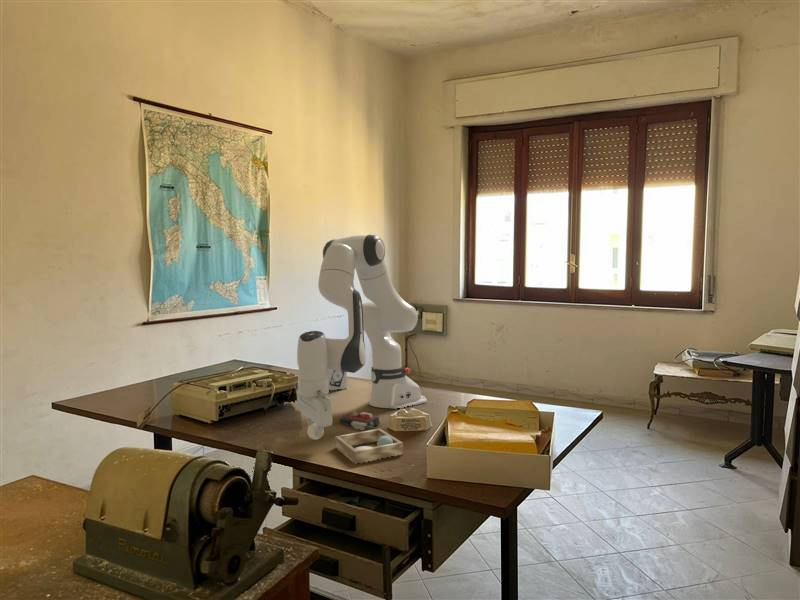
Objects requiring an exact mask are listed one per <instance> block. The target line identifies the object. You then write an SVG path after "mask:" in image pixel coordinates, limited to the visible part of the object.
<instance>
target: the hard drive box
mask: <svg viewBox="0 0 800 600" xmlns="http://www.w3.org/2000/svg"><path fill="white" fill-rule="evenodd" d="M327 373H328V377H329V390H330V391H338V390H337V389H341V390H346V389H345V388H347V386H348V385H347V383H348V380H347V377H348V375H347V373H348V372H344V371H334V370H327Z"/></svg>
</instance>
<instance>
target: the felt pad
mask: <svg viewBox="0 0 800 600" xmlns="http://www.w3.org/2000/svg"><path fill="white" fill-rule="evenodd" d="M372 447H373V446H368V445H363V446H356V447H355V449H356V450H362V449H367V448H372Z"/></svg>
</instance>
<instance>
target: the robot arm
mask: <svg viewBox="0 0 800 600" xmlns="http://www.w3.org/2000/svg"><path fill="white" fill-rule="evenodd" d="M385 255H386V247H385V243H384V241H383V240H382V239H381V237H379V236H378V235H375V234H367V235H351V236H348V237H340V238H334V239H331V240H329V241H327V242H326V243H325V245H324V247H323V250H322V263H321V266H320V271H319V277H318V291H319V293H320V295H321V296H322V297H323V298H324V299H325V300H326V301H328V302H329V303H331V304H332V305H335V306H338V307H340V308H342V309H344V310H346V311H347V320H348V321H347V322H348V324H347V325H348V336H347V337H346V338H327V337H326V335H325V333H324V332H323V331H320V330H309V331H306V332H303V333H302V334H300V335H299V337H298V340H297V350H296V357H297V358H296V362H297V363H296V364H297V366H298V371H299V372H298V376H297V380H296V381H295V382H294V388H295V390H296V400H297V407H298V410H299V411H300V412H301V413H302V414H303V415H305V418H306V421H307V428H308V427H309V426H310V425H311V424H313V423H316V426H317V427H316V430H315V435H316V436H317V437H321V438H322V437H323V436H324V433H323V429H325V428H327V427H331V426H332V425H333V422H334V421H333V410H332V404H331V400H330V399H329V398H328V397H327V395H328V394H329V392H330V391H329V377H328V373H327V370H334V371H344V372H347V373H352V374H353V373H354V374H355V373H357V372H358V371H360V370H361V369H362V368H363V367H364V366H365V364H366V359H367V353H366V345H365V337H364V335H365V334H366V336H367V338H368V340H369V343H370V344H369V345H370V346H371V356H372V357H371V358H372V361H371V362H372V366H371V371H370V372H371V392H370V398H369V400H368V401H369V402H368V405H370V406H372V407H375V408H380V409H394V410H398V409H397V408H400V409H405V408H408V407H407V406H409V407H412V405H413V406H417V405H420V404H425V403H427V402H428V399H427V397H426V396H425V395H422V393H421V392H422V391H421V389H420V386H419V384H417V383H416V381H414V380H412V379H411V378H409V376H407V375H406V374H410V373H411V368H409V367H404V366H402V348H401V345H400V344H399V343H398V342H397V341H396V340H394V338H393V337H392V336H391V333H406V332H411V331H413V330H414V328H416V326H417V324H418V321H419V316H418V315H419V314H418V312H417V310H416V308H415V307H414V306H413V305H412V304H409V303H408V302H407V301H405V300H404V299H403V298H402V296H401V295H399V293H398V291H397V290H396V288H395V287H394V285H393V282H392V280H391V277H390V274H389V272H388V270H389V269H388V267H387V264H386V262H385ZM355 271H356V272H355ZM355 273H356V276H357V278H358V281H359V284H360V288H361V291H362V293H363V296H364V298H365V297H366V299H368V300H369V301H370V302H369V301H368V302H364V303H363V300H362V296H361V294H360V291H358V290H357V289H356V288H355V285H354V279H355ZM404 407H405V408H404ZM400 409H399V410H400Z"/></svg>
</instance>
